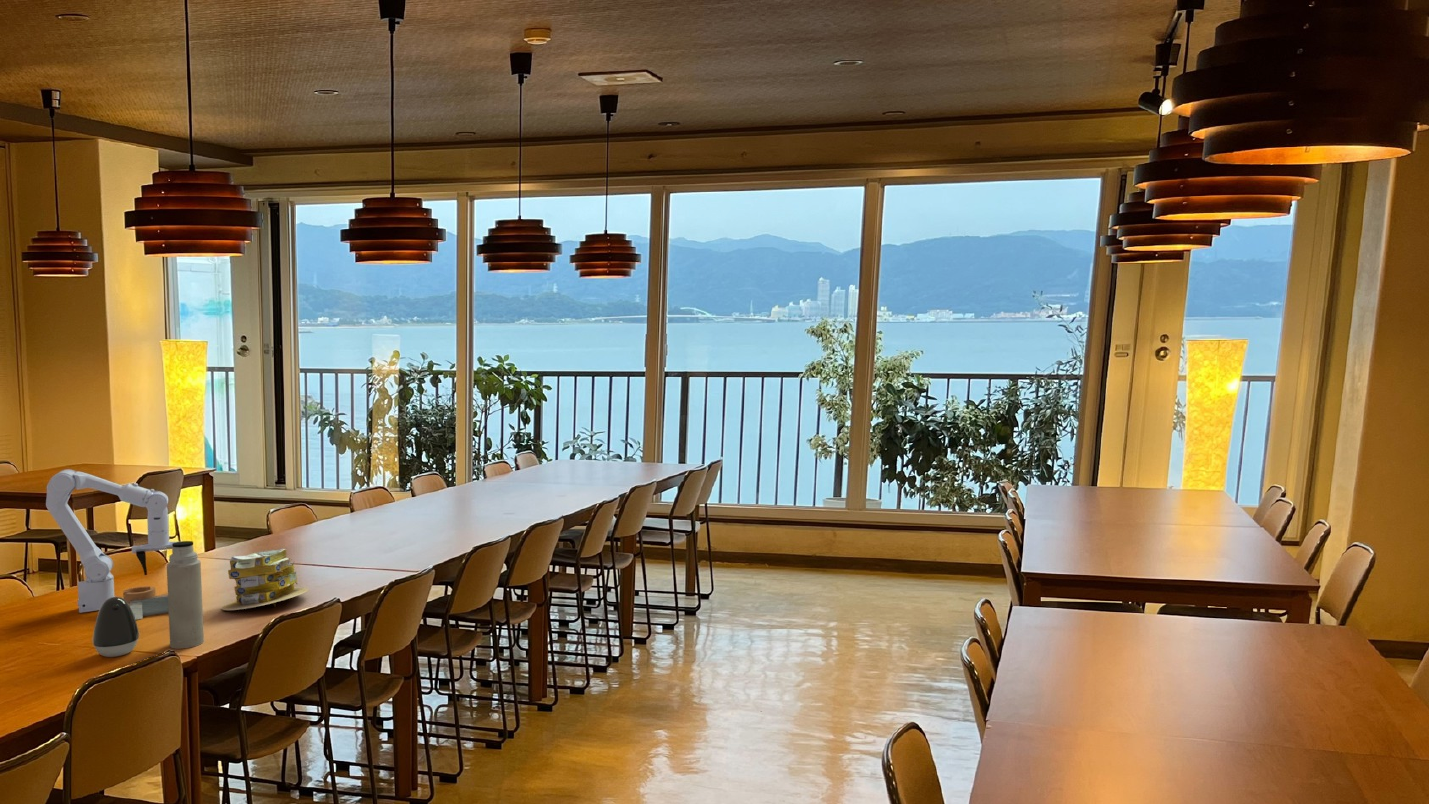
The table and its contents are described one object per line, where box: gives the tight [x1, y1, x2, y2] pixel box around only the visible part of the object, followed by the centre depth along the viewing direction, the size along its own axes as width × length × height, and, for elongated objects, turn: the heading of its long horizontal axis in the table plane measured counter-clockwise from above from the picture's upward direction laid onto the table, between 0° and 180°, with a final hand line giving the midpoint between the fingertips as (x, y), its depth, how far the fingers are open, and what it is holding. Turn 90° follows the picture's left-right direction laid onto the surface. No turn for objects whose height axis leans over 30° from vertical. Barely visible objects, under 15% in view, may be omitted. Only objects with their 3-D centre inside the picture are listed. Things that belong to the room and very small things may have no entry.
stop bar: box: [130, 596, 169, 621], centre depth 278 cm, size 17×4×5 cm, turn 123°
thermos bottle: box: [166, 540, 205, 650], centre depth 249 cm, size 8×8×28 cm
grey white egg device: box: [92, 596, 140, 658], centre depth 242 cm, size 10×10×15 cm
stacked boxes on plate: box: [221, 548, 310, 611], centre depth 288 cm, size 25×25×17 cm
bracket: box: [122, 586, 168, 606], centre depth 285 cm, size 18×8×7 cm, turn 150°
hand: (159, 572), depth 292 cm, fingers open, 7 cm apart
